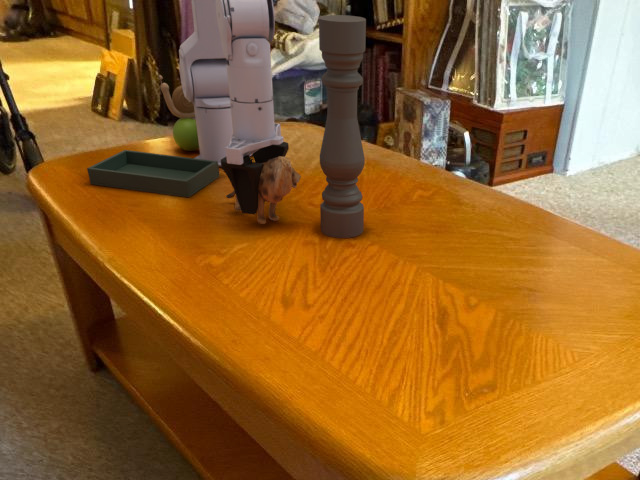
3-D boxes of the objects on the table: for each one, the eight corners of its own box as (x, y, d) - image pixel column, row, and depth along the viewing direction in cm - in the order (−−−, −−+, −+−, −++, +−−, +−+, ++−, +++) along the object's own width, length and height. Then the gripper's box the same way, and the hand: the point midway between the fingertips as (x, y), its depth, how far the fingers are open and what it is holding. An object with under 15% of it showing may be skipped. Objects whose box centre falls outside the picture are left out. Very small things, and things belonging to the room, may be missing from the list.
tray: (127, 164, 116) (124, 149, 115) (219, 176, 113) (218, 161, 112) (90, 184, 108) (86, 168, 107) (188, 197, 105) (186, 181, 104)
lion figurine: (303, 226, 99) (306, 158, 93) (275, 231, 95) (277, 162, 90) (239, 198, 106) (239, 134, 100) (211, 203, 102) (209, 137, 97)
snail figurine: (167, 148, 124) (155, 72, 116) (201, 145, 126) (192, 70, 118) (173, 156, 121) (162, 78, 113) (209, 153, 123) (200, 76, 115)
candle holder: (365, 223, 100) (370, 16, 83) (360, 239, 95) (365, 23, 78) (324, 220, 100) (320, 13, 83) (317, 236, 95) (312, 20, 79)
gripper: (258, 113, 84) (266, 224, 93) (298, 90, 95) (302, 192, 104) (206, 107, 85) (219, 217, 94) (251, 86, 96) (259, 187, 105)
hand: (259, 204), depth 99 cm, fingers open, 7 cm apart
